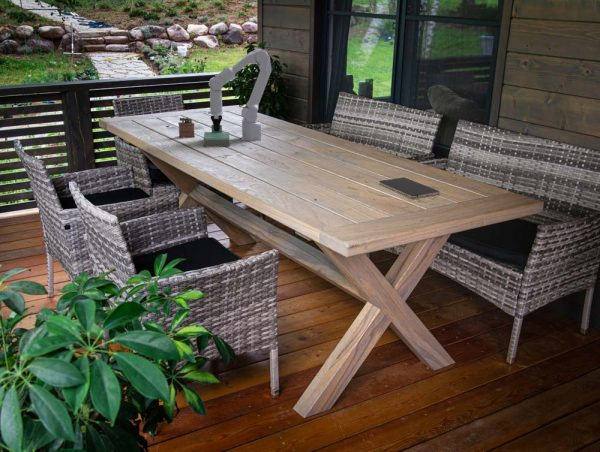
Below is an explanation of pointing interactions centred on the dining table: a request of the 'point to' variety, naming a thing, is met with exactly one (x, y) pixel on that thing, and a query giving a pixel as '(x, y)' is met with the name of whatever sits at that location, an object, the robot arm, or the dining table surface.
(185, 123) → the lighter
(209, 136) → the lid
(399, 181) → the notebook
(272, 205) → the dining table surface
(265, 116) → the dining table surface
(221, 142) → the tub
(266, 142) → the dining table surface
